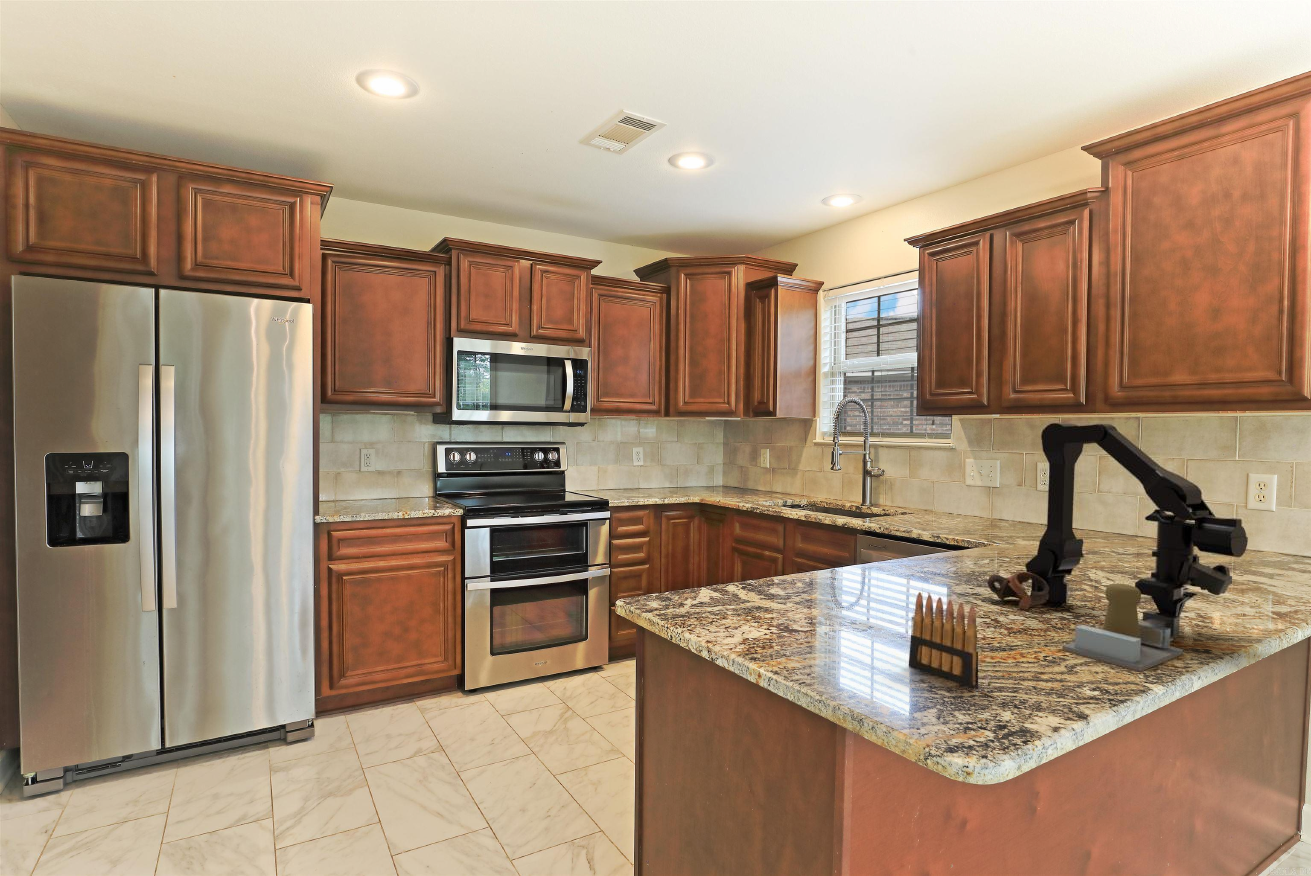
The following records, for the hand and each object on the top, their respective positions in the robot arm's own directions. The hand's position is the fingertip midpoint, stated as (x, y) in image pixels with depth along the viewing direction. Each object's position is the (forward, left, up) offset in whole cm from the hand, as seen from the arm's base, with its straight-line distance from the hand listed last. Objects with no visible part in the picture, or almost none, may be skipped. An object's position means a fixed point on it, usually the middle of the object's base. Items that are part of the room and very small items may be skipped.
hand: (1170, 628), depth 133 cm
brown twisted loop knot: (-27, +3, -1) cm, 28 cm away
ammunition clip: (-26, -54, -1) cm, 60 cm away
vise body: (-5, -16, -1) cm, 17 cm away
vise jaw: (-3, -9, 0) cm, 10 cm away
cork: (-6, -20, 0) cm, 21 cm away
